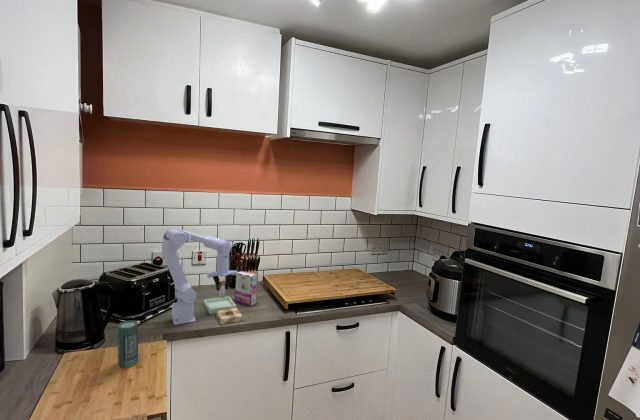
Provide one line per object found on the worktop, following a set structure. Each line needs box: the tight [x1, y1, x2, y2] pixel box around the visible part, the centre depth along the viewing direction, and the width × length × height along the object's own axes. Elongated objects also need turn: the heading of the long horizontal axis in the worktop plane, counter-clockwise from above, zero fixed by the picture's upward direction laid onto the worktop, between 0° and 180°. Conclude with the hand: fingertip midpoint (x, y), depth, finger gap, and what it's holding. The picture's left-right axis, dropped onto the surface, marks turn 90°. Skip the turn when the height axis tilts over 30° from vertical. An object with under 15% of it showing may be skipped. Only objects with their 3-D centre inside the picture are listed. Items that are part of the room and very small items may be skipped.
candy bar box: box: [234, 270, 258, 307], centre depth 184 cm, size 11×5×16 cm, turn 62°
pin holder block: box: [215, 307, 243, 325], centre depth 165 cm, size 10×10×2 cm
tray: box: [203, 296, 237, 315], centre depth 177 cm, size 13×13×2 cm
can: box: [117, 320, 139, 369], centre depth 124 cm, size 6×6×15 cm
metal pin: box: [218, 280, 227, 298], centre depth 173 cm, size 4×4×8 cm
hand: (222, 289), depth 174 cm, fingers closed on metal pin, 4 cm apart
